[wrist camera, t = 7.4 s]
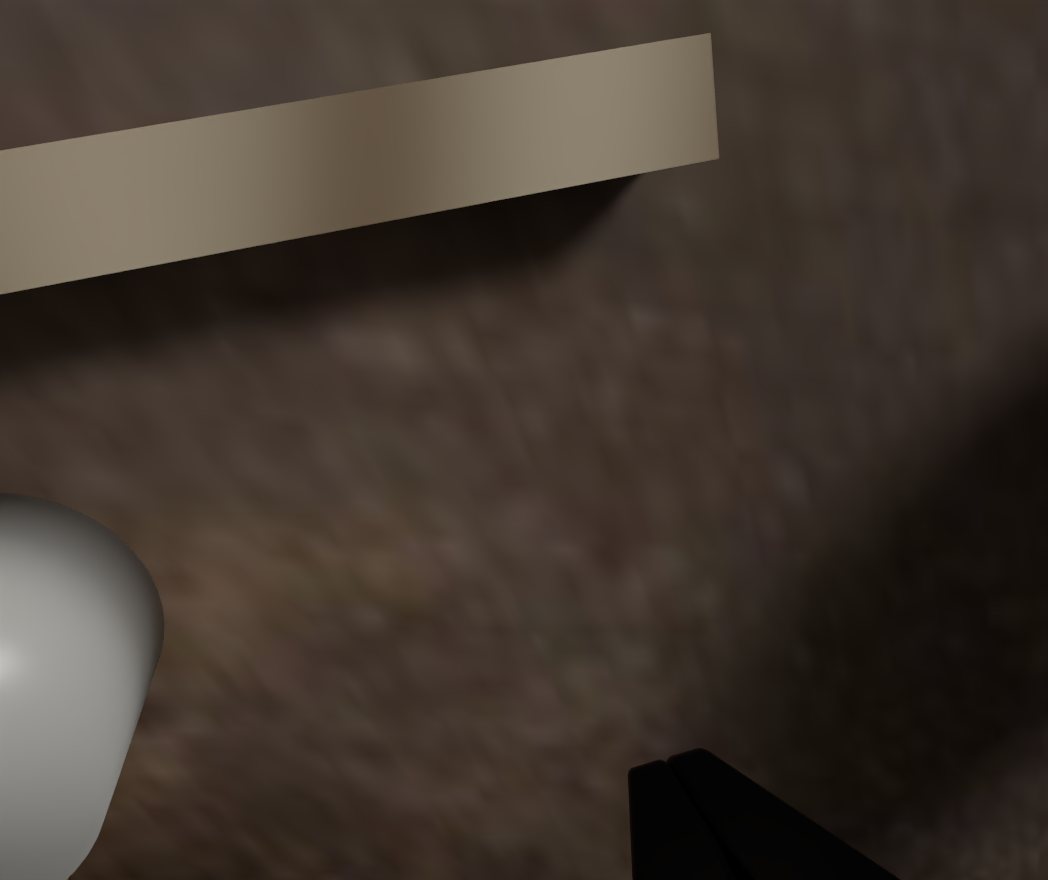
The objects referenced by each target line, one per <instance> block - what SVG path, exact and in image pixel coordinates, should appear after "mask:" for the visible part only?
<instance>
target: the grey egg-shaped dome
mask: <svg viewBox="0 0 1048 880" xmlns="http://www.w3.org/2000/svg"><path fill="white" fill-rule="evenodd" d="M163 640H164V615H163V608H162V603H161V600H160V597H159V593H158V590H157V588H156V586H155V584H154V582H153V579H152V577H151V575H150V574H149V572H148V571H147V569H146V568H145V566H144V565H143V563H142V561H141V560H140V559H139V558H138V557H137V555H136V554H135V553H134V552H133V551H132V550H131V549H130V547H129V546H128V545H127V544H126V543H124V542H123V541H122V540H121V539H120V538H119V537H118V536H116V535H115V534H114V533H113V532H111V531H110V530H109V529H107V528H106V527H104V526H103V525H101V524H100V523H98V522H97V521H95V520H93V519H91V518H89V517H88V516H86V515H84V514H82V513H80V512H78V511H76V510H73V509H71V508H68V507H65V506H63V505H60V504H58V503H54V502H51V501H47V500H43V499H40V498H36V497H30V496H24V495H18V494H7V493H0V880H67V879H68V878H69V877H70V876H71V875H72V874H73V873H74V872H75V871H76V869H77V868H78V867H79V865H80V864H81V863H82V862H83V860H84V859H85V858H86V857H87V855H88V854H89V852H90V850H91V848H92V847H93V845H94V843H95V841H96V839H97V838H98V835H99V832H100V830H101V827H102V824H103V822H104V819H105V816H106V813H107V810H108V807H109V804H110V801H111V798H112V795H113V792H114V789H115V787H116V784H117V781H118V778H119V775H120V772H121V769H122V766H123V763H124V760H125V757H126V754H127V751H128V748H129V745H130V743H131V740H132V737H133V734H134V731H135V728H136V725H137V722H138V719H139V716H140V713H141V710H142V707H143V704H144V701H145V698H146V696H147V693H148V690H149V687H150V684H151V681H152V678H153V675H154V672H155V669H156V666H157V663H158V660H159V657H160V654H161V650H162V645H163Z"/></svg>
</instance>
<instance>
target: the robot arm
mask: <svg viewBox="0 0 1048 880" xmlns="http://www.w3.org/2000/svg"><path fill="white" fill-rule="evenodd" d="M628 789H629V812H630V834H631V856H632V878H633V880H900V879H899V878H897V877H896V876H894V875H893V874H891V873H890V872H888V871H887V870H885V869H884V868H882V867H881V866H879V865H878V864H876V863H875V862H873V861H872V860H870V859H869V858H867V857H866V856H864V855H863V854H861V853H860V852H858V851H857V850H855V849H854V848H852V847H851V846H849V845H848V844H846V843H845V842H843V841H842V840H840V839H839V838H837V837H836V836H834V835H833V834H831V833H830V832H828V831H827V830H825V829H824V828H822V827H821V826H819V825H818V824H816V823H815V822H814V821H812V820H811V819H809V818H808V817H806V816H805V815H803V814H802V813H800V812H799V811H797V810H796V809H794V808H793V807H791V806H790V805H788V804H787V803H785V802H784V801H782V800H781V799H779V798H778V797H776V796H775V795H773V794H772V793H770V792H769V791H767V790H766V789H764V788H763V787H761V786H760V785H758V784H757V783H755V782H754V781H752V780H751V779H749V778H748V777H746V776H745V775H743V774H742V773H740V772H739V771H737V770H736V769H734V768H733V767H732V766H730V765H729V764H727V763H726V762H724V761H723V760H721V759H720V758H718V757H717V756H715V755H714V754H712V753H711V752H709V751H707V750H705V749H702V748H697V749H693V750H690V751H687V752H683V753H680V754H676V755H673V756H671V757H669V758H668V760H667V762H665V761H663V760H656V761H653V762H650V763H646V764H643V765H640V766H636V767H633V768H631V769H630V770H629V772H628Z"/></svg>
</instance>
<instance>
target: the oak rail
mask: <svg viewBox="0 0 1048 880" xmlns="http://www.w3.org/2000/svg"><path fill="white" fill-rule="evenodd" d="M714 159H719V150H718V135H717V120H716V106H715V91H714V76H713V61H712V46H711V33H707V34H701V35H695V36H689V37H683V38H677V39H671V40H665V41H659V42H653V43H647V44H641V45H635V46H629V47H623V48H617V49H611V50H605V51H599V52H593V53H587V54H581V55H575V56H569V57H563V58H557V59H551V60H545V61H538V62H532V63H526V64H520V65H514V66H508V67H502V68H496V69H490V70H484V71H478V72H472V73H466V74H460V75H454V76H448V77H442V78H436V79H430V80H424V81H418V82H412V83H406V84H400V85H394V86H388V87H382V88H376V89H370V90H364V91H358V92H351V93H345V94H339V95H333V96H327V97H321V98H315V99H309V100H303V101H297V102H291V103H285V104H279V105H273V106H267V107H261V108H255V109H249V110H243V111H237V112H231V113H225V114H219V115H213V116H207V117H201V118H195V119H189V120H183V121H177V122H170V123H164V124H158V125H152V126H146V127H140V128H134V129H128V130H122V131H116V132H110V133H104V134H98V135H92V136H86V137H80V138H74V139H68V140H62V141H56V142H50V143H44V144H38V145H32V146H26V147H20V148H14V149H8V150H2V151H0V294H5V293H11V292H16V291H21V290H26V289H32V288H37V287H42V286H48V285H53V284H58V283H63V282H69V281H74V280H79V279H85V278H90V277H95V276H100V275H106V274H111V273H116V272H122V271H127V270H132V269H137V268H143V267H148V266H153V265H159V264H164V263H169V262H174V261H180V260H185V259H190V258H196V257H201V256H206V255H211V254H217V253H222V252H227V251H233V250H238V249H243V248H249V247H254V246H259V245H264V244H270V243H275V242H280V241H286V240H291V239H296V238H301V237H307V236H312V235H317V234H323V233H328V232H333V231H338V230H344V229H349V228H354V227H360V226H365V225H370V224H375V223H381V222H386V221H391V220H397V219H402V218H407V217H412V216H418V215H423V214H428V213H434V212H439V211H444V210H450V209H455V208H460V207H465V206H471V205H476V204H481V203H487V202H492V201H497V200H502V199H508V198H513V197H518V196H524V195H529V194H534V193H539V192H545V191H550V190H555V189H561V188H566V187H571V186H576V185H582V184H587V183H592V182H598V181H603V180H608V179H613V178H619V177H624V176H629V175H635V174H640V173H645V172H650V171H656V170H661V169H666V168H672V167H677V166H682V165H688V164H693V163H698V162H703V161H709V160H714Z"/></svg>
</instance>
